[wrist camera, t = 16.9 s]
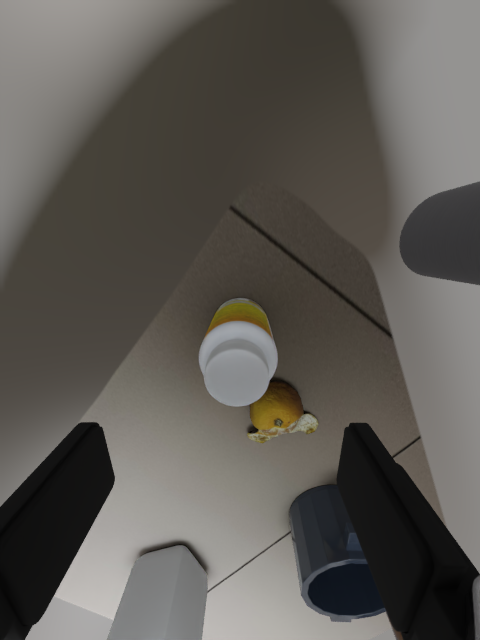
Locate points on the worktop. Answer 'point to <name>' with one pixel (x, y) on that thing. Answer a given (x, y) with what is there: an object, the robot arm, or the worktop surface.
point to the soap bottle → (163, 598)
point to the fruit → (279, 413)
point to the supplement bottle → (238, 353)
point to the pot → (331, 558)
